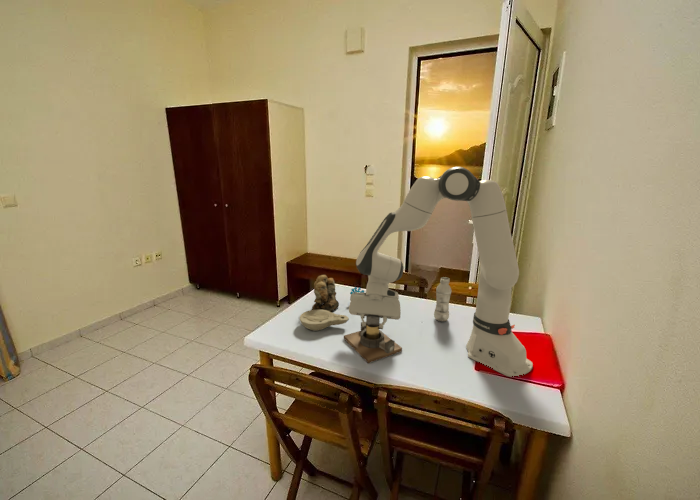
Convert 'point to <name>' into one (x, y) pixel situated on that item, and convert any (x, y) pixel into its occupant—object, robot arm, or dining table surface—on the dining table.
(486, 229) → the robot arm
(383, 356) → the shaft seat
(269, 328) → the dining table surface
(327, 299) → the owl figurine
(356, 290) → the teal virus model
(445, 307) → the plastic bottle
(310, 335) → the dining table surface
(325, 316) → the oil lamp
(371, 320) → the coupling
